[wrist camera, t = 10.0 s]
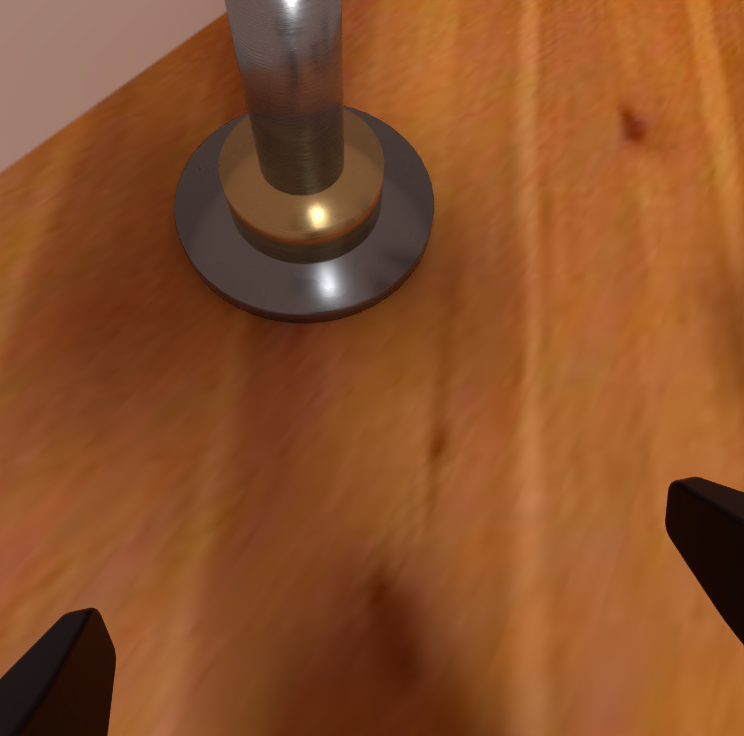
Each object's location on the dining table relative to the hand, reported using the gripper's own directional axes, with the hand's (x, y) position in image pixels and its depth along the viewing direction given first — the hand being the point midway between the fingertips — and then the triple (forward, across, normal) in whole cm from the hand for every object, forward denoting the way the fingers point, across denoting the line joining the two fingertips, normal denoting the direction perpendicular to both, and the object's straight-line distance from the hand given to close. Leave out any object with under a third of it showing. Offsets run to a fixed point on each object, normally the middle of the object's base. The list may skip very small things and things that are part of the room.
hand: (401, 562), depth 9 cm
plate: (+22, 0, -2) cm, 22 cm away
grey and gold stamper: (+21, 0, -3) cm, 21 cm away
